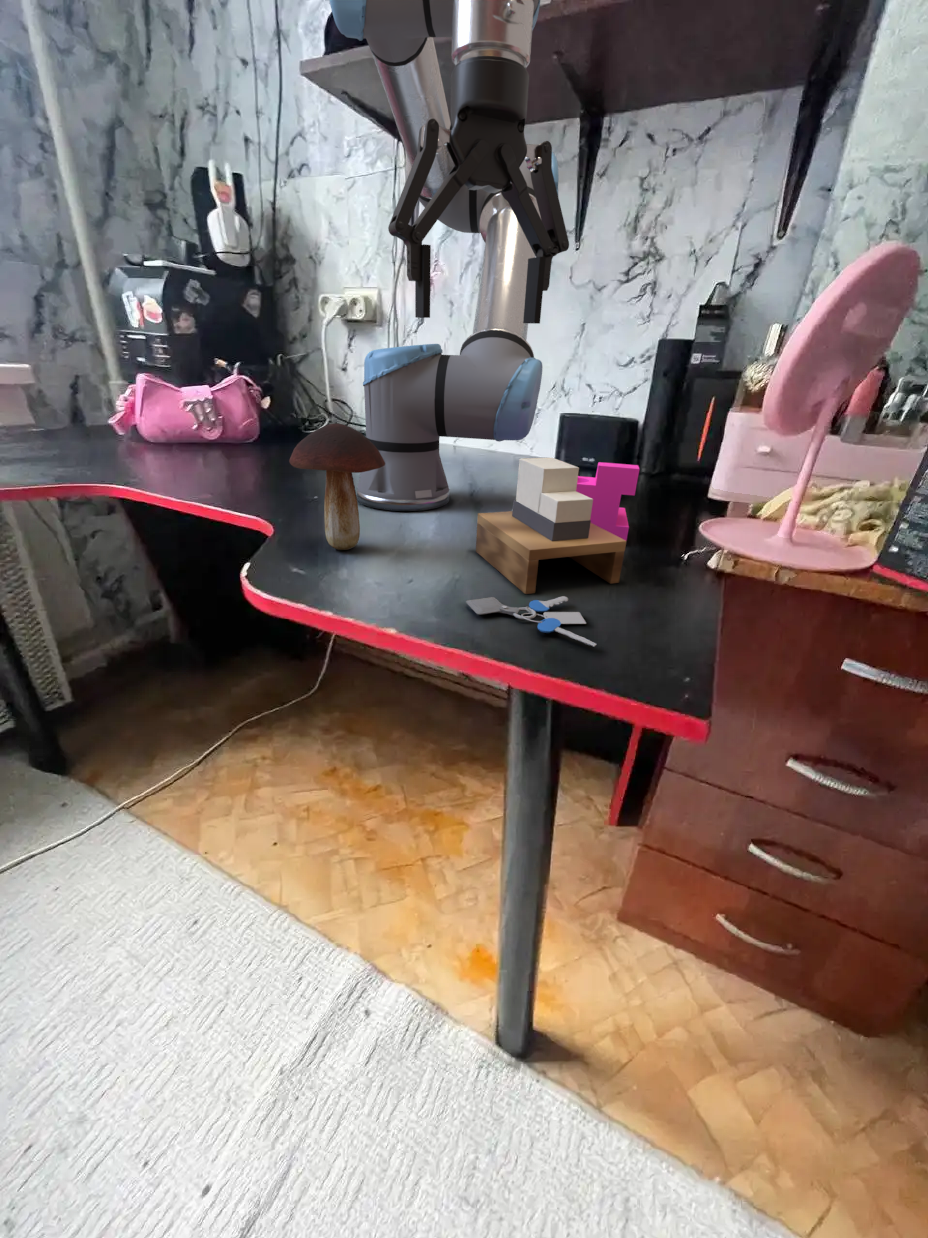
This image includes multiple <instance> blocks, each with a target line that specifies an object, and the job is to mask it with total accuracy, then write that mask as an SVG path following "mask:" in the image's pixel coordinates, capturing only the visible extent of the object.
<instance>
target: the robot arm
mask: <svg viewBox="0 0 928 1238" xmlns="http://www.w3.org/2000/svg"><path fill="white" fill-rule="evenodd" d="M329 4H330V9H331V13H332V16H333V20H334V23H335V26H336V27H337V30H338V31H339V33H340V34H341V35H344V37H346V38H350V39H357V40H358V41H359V42H360V41H361V42H362V41H363V40H364V39H366V43H367V44H368V47H369V50H370V52H371V55H372V58H373V60H374V64H375V67H376V70H377V73H378V75H379V78H380V81H381V84H382V88H383V90H384V93H385V96H386V98H387V102H388V104H389V107H390V110H391V113H392V116H393V119H394V121H395V124H396V127H397V131H398V134H399V137H400V139H401V143H402V145H403V148H404V150H405V153H406V165H405V169H406V174H407V178H406V181H405V184H404V186H403V188H402V191H401V194H400V195H399V198H398V201H397V204H396V206H395V209H394V211H393V214H392V217H391V219H390V222H389V224H388V227H387V228H388V230H387V231H388V233H389V235H391V236H392V237H396V238H398V239H400V240H402V241H403V245H405V248H406V277H407V281H408V282H414V283H415V286H414V292H415V293H414V294H415V295H414V297H415V299H414V300H415V301H414V302H415V303H414V304H415V310H414V311H415V314H414V317H415V318H418V319H429V318H431V259H432V258H431V257H432V255H431V253H432V252H431V249H432V248H431V247H432V246H431V244H424V243H423V241H424V240H425V238H426V237H427V235H428V234H429V232H430V231H431V230H432V228H434V226H435V224H436V223H437V221H438V222H440V223H441V224H443V225H445V226H446V227H448V228H449V229H452V230H454V231H457V232H461V233H464V234H480V235H481V236H480V237H481V238H482V240H483V242H484V243H485V244H484V251H483V257H482V265H481V271H480V279H479V286H478V293H477V301H476V308H475V313H474V321H473V328H472V334H470V335H469V336H468V337H467V338H466V339H464V341H463V343H462V345H461V347H460V350H459V354H443V352H444V351H443V349H442V345H441V344H440V343H425V344H414V345H402V346H393V347H385V348H377V349H372V350H371V351H369V352H368V353H367V354H366V356H365V358H364V362H363V370H364V371H363V382H362V387H363V394H364V416H365V417H364V419H365V437H366V438H367V439H369V440H370V441H371V442H372V443H373V444H374V445H375V447H376V448H377V449H378V451H379V452H380V454H381V456H382V458H383V459H384V462H385V466H383V467H381V468H378V469H374V470H370V471H366V472H361V473H359V474H360V475H359V479H358V481H357V484H356V485H357V486H356V497H357V502H358V503H360V504H362V505H363V506H367V507H369V508H374V509H376V510H377V509H378V510H385V511H392V512H393V511H395V512H418V511H419V512H420V511H427V510H433V509H437V508H441V507H443V506H445V505H447V504H448V503H449V501H450V488H449V487H450V486H449V483H448V480H447V477H446V473H445V470H444V466H443V462H442V459H441V454H440V437H443V438H444V437H445V438H458V439H460V438H461V439H472V440H473V439H474V440H477V439H478V440H487V441H489V440H490V441H495V442H498V443H499V442H504V441H522V440H523V439H525V438H526V437H527V436H528V435H529V433H530V431H531V429H532V426H533V423H534V420H535V416H536V411H537V406H538V403H539V401H538V399H539V397H540V396H539V394H540V390H541V385H542V378H543V362H542V360H540V359H538V358H536V357H535V353H534V350H533V348H532V346H531V344H530V343H529V342H528V340H527V337H528V329H529V324H535V325H536V324H541V318H542V317H541V316H542V304H543V296H544V295H543V293H544V292H547V291H548V289H549V287H550V281H551V271H552V261H553V258H554V257H556V256H557V255H559V254H562V253H564V252H567V251H568V250H569V249H570V241H569V236H568V232H567V228H566V224H565V218H564V215H563V211H562V208H561V202H560V198H559V182H560V181H559V179H560V177H559V161H558V158H557V156H556V154H555V153H554V152H553V145H552V143H551V142H550V141H549V140H545V141H543V142H541V143H539V144H537V143H534V144H532V143H531V144H530V143H527V141H526V137H525V127H526V122H527V114H528V102H529V100H528V99H529V87H530V74H529V72H528V70H527V68H528V66H529V65H530V62H531V56H532V55H531V53H532V41H533V40H532V38H533V31H534V28H535V26H536V24H537V21H538V18H539V12H540V7H541V0H329ZM434 38H451V56H450V57H451V62H452V63H453V65H454V67H453V69H452V70H451V74H450V113H449V108H448V103H447V98H446V94H445V88H444V84H443V79H442V73H441V70H440V65H439V59H438V55H437V50H436V46H435V45H436V44H435V41H434V40H435V39H434ZM418 201H419V202H420V204H421V205H422V207H424V208H423V210H422V211H421V212H420V214H419V215H418V217H417V218H416V220H415V221H414V222H413V224H412V225H411V224H409V223H410V221H411V219H412V217H413V214H414V212H415V209H416V207H417V204H418Z"/></svg>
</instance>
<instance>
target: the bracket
mask: <svg viewBox="0 0 928 1238" xmlns="http://www.w3.org/2000/svg"><path fill="white" fill-rule="evenodd" d="M639 475H640V466H639V464H626V463H615V462H601V461H599V462H598V463H597V468H596V473H595V477H592V476H581V475H578V480H577V487H576V492H578V493H581V494H583V495H585V496H587V497H590V498H592V499H593V503H592V510H591V517H590V521H591V523H592V524H594V525H596V526H598V527H600V528H602V529H604V530H606V531H608V532H610V533H612V534H614V535H616V536H618V537H620V538H622V539H624V540H626V541H628V535H629V529H630V526H629V521H628V517H627V516H628V515H627V512H626V507H620V504H621V498H622V495H624V496H635V495H636V491H637V486H638V481H639Z"/></svg>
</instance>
